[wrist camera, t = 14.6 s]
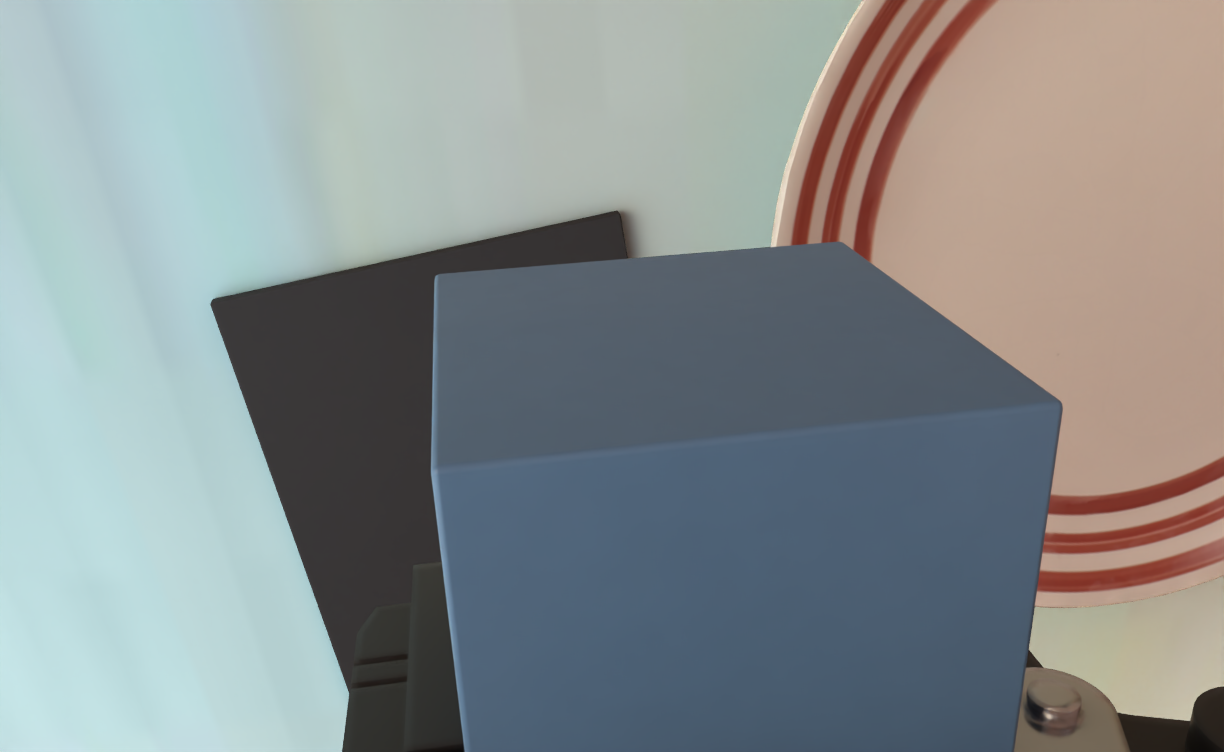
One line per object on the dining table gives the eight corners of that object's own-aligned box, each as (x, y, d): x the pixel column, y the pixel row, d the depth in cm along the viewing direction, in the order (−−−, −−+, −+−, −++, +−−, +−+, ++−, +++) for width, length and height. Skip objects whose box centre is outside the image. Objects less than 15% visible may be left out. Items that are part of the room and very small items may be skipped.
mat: (617, 210, 31) (620, 213, 30) (695, 673, 38) (698, 681, 38) (212, 299, 30) (209, 303, 29) (376, 760, 37) (375, 769, 37)
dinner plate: (1106, 670, 43) (1160, 726, 40) (570, 341, 32) (588, 383, 29) (1636, 109, 37) (1747, 126, 34) (1188, -515, 26) (1291, -572, 23)
